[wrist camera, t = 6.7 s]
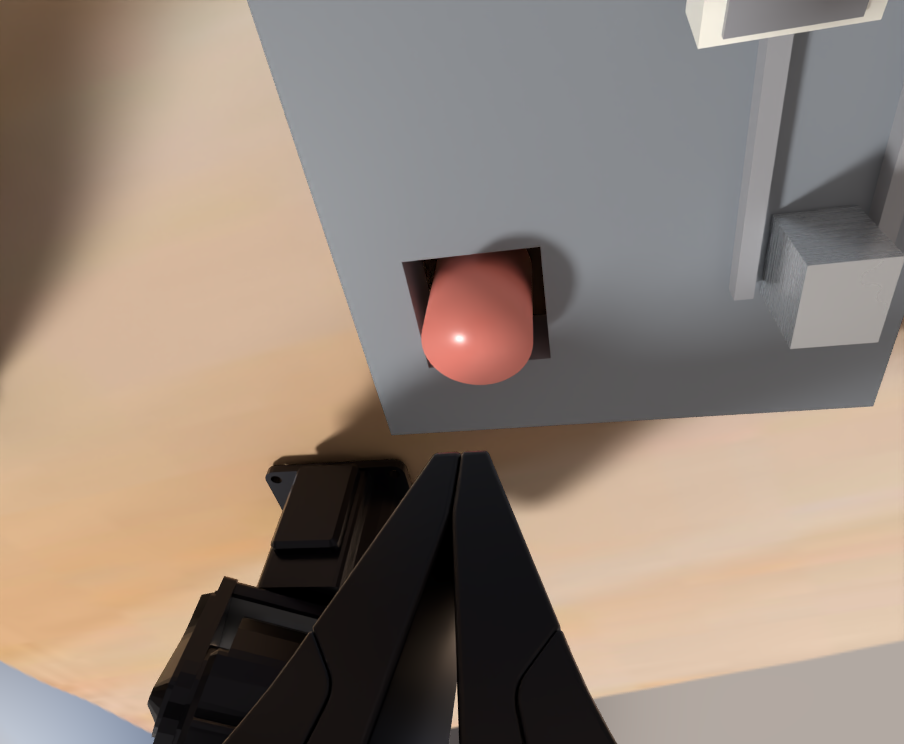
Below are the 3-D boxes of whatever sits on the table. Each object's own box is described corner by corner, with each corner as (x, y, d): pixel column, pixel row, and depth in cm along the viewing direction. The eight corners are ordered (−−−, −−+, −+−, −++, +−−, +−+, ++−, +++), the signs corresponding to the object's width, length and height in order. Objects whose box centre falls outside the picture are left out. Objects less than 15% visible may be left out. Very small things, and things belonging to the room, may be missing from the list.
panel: (842, 357, 22) (897, 444, 19) (401, 389, 25) (383, 470, 21) (1207, -951, 8) (1654, -1477, 5) (125, -538, 11) (-40, -700, 8)
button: (535, 305, 22) (537, 380, 18) (445, 314, 22) (433, 388, 19) (527, 220, 20) (527, 289, 16) (427, 232, 20) (410, 301, 17)
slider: (837, 285, 17) (878, 342, 15) (760, 292, 18) (790, 348, 16) (857, 204, 16) (905, 256, 14) (772, 214, 16) (807, 265, 14)
